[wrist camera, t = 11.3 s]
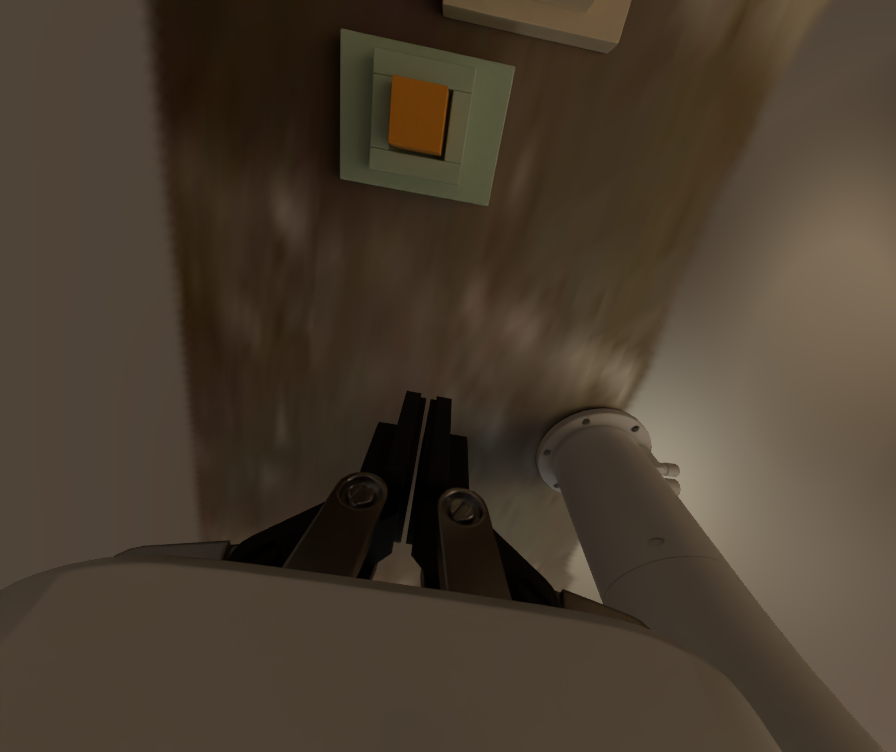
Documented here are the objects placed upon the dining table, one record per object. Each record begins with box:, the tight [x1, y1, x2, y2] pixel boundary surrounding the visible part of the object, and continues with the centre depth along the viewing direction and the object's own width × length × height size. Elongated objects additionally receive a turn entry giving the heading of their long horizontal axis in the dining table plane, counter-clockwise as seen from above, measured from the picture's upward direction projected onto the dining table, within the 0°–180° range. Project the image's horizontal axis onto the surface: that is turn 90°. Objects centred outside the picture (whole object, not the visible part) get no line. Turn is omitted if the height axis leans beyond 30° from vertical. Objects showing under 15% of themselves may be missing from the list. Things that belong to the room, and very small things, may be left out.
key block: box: [340, 29, 515, 206], centre depth 22 cm, size 11×8×4 cm
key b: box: [388, 75, 449, 156], centre depth 20 cm, size 3×3×2 cm
